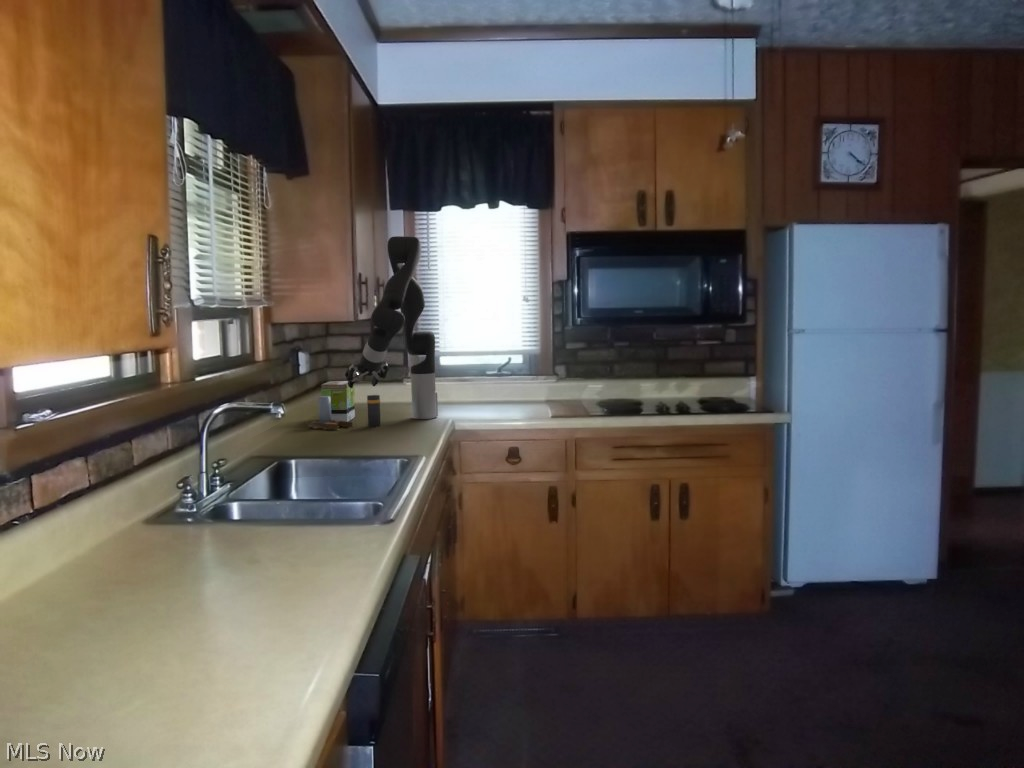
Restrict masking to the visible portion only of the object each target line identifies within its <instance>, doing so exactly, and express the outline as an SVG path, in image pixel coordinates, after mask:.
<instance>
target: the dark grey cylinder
mask: <svg viewBox="0 0 1024 768" xmlns="http://www.w3.org/2000/svg"><path fill="white" fill-rule="evenodd" d="M380 397H381V395H380V394H369V395H366V403H367V427H371V428H375V427H376V426H378V427H381V426H382V424H381V398H380Z"/></svg>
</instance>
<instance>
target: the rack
mask: <svg viewBox="0 0 1024 768" xmlns="http://www.w3.org/2000/svg"><path fill="white" fill-rule="evenodd" d="M338 426H343V427H342V428H348V427H352V428H353V421H337V420H332V422H329V423H324V422H319V420H314V421H308V428H309V427H317V428H326V429H334V430H333V431H338V430H339V427H338ZM317 428H316V429H317ZM326 429H325V430H326ZM337 429H338V430H337Z"/></svg>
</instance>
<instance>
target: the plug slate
mask: <svg viewBox="0 0 1024 768" xmlns="http://www.w3.org/2000/svg"><path fill="white" fill-rule="evenodd" d="M317 403H318V404H317V405H318V406H317V407H318V421H319V422H324V423H329V422H332V419H331V396H321V395H320V396H317Z"/></svg>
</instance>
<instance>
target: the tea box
mask: <svg viewBox="0 0 1024 768" xmlns="http://www.w3.org/2000/svg"><path fill="white" fill-rule="evenodd" d="M320 386H321V387H320V390H321V391H320V392H321V393H320V394H321V395H320V396H331V419H332V420H337V421H348V422H351V420H353V419H355V418H354V417H356V410H355V409H356V407H355V406H356V405H355V404H356V403H355V402H356V400H355V384H354V385H353V388H350V387H349V386H348V381H347V380H333V381H332V380H331V381H327V382H325V383H322V384H321V385H320Z"/></svg>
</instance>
